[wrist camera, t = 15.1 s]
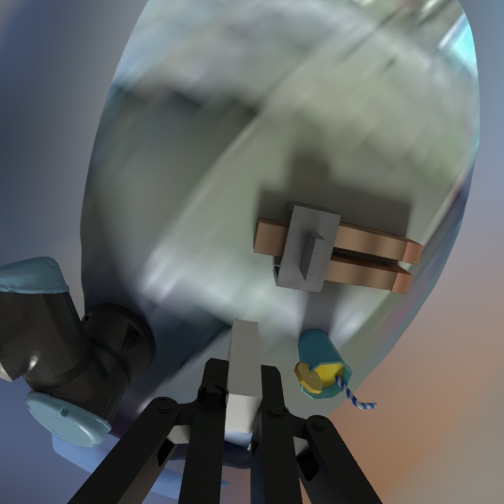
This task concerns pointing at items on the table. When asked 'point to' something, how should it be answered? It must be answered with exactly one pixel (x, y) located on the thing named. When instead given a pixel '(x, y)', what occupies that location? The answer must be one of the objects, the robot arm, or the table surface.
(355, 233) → the hinged jaw
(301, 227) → the collar
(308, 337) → the cup
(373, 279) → the base
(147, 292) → the table surface
